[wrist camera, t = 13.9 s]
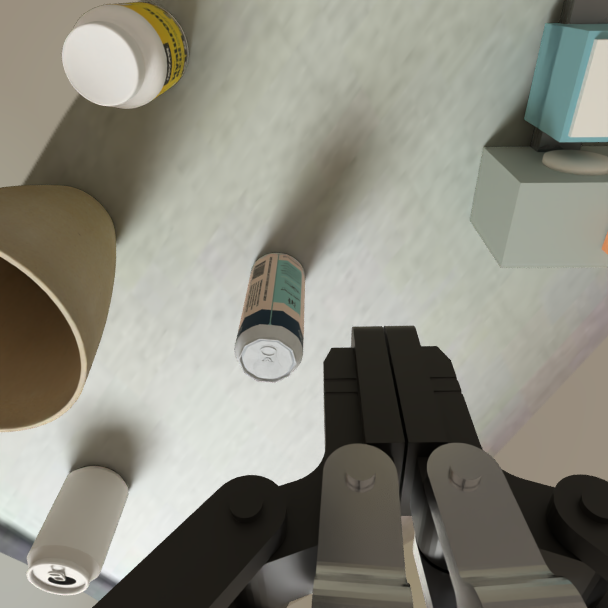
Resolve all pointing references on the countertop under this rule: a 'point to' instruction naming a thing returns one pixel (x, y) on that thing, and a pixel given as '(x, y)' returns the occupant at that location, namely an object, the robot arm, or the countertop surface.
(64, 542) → the can
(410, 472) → the robot arm
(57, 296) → the plant pot
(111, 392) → the countertop surface
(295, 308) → the beer can
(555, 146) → the rail
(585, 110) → the box
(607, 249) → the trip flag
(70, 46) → the supplement bottle
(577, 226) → the cabinet
